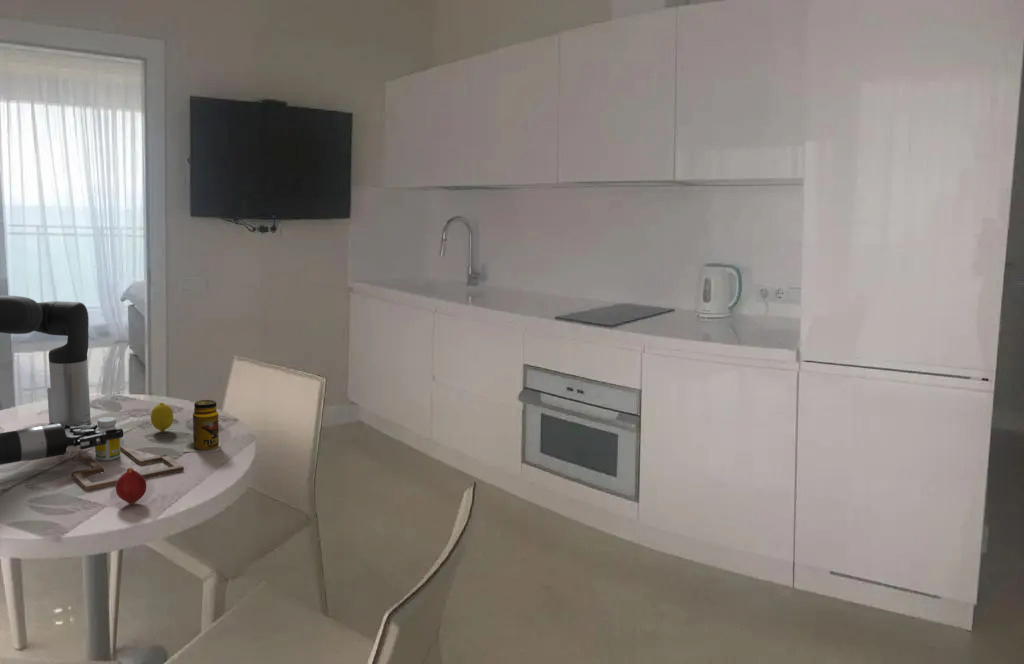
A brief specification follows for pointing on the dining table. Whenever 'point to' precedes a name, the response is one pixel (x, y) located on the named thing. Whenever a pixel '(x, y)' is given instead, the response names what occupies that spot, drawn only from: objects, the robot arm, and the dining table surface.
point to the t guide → (97, 468)
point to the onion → (131, 486)
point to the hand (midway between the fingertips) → (118, 429)
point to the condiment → (204, 428)
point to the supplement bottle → (112, 446)
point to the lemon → (162, 417)
